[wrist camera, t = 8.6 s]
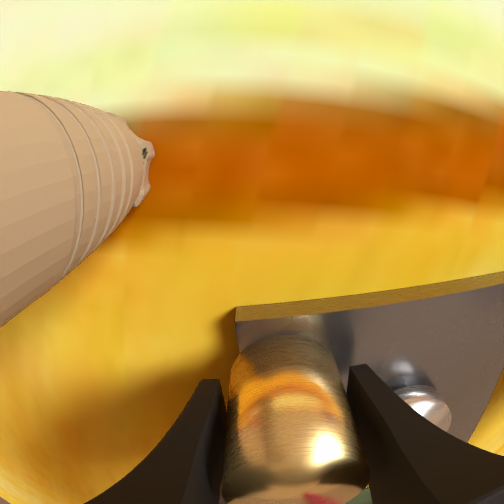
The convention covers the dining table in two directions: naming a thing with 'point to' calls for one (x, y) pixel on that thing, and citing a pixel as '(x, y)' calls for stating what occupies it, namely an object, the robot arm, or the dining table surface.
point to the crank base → (404, 338)
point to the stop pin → (290, 428)
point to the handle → (60, 189)
